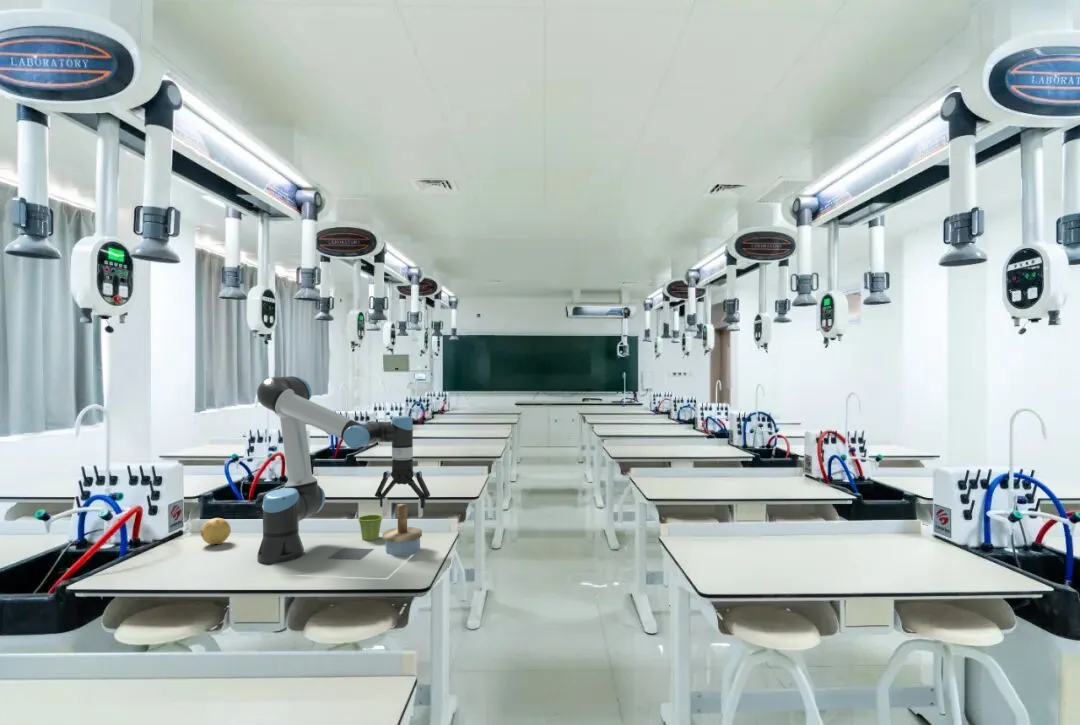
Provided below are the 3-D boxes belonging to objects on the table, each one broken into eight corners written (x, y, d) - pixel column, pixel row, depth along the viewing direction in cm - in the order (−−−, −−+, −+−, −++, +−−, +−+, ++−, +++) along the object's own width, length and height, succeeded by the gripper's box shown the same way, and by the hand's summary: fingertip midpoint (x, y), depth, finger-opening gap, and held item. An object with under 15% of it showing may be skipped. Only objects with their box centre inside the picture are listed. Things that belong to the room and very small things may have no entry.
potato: (210, 543, 225) (190, 532, 219) (228, 521, 230) (209, 509, 223) (222, 552, 220) (202, 541, 213) (240, 529, 224) (221, 517, 217)
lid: (376, 541, 205) (376, 509, 205) (391, 530, 219) (391, 500, 219) (414, 542, 204) (414, 509, 204) (426, 531, 218) (426, 500, 218)
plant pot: (364, 535, 232) (364, 514, 232) (386, 536, 230) (386, 514, 231) (353, 542, 222) (353, 520, 223) (376, 543, 221) (376, 520, 221)
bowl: (380, 555, 206) (380, 540, 206) (393, 545, 218) (393, 531, 218) (413, 557, 205) (413, 541, 205) (423, 546, 217) (423, 532, 217)
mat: (327, 559, 202) (327, 558, 202) (343, 549, 214) (343, 547, 214) (360, 561, 201) (360, 559, 201) (374, 550, 213) (374, 548, 213)
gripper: (365, 459, 210) (365, 518, 209) (432, 460, 207) (432, 519, 206) (374, 456, 217) (374, 513, 217) (438, 457, 214) (438, 514, 214)
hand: (402, 516), depth 212 cm, fingers open, 13 cm apart
